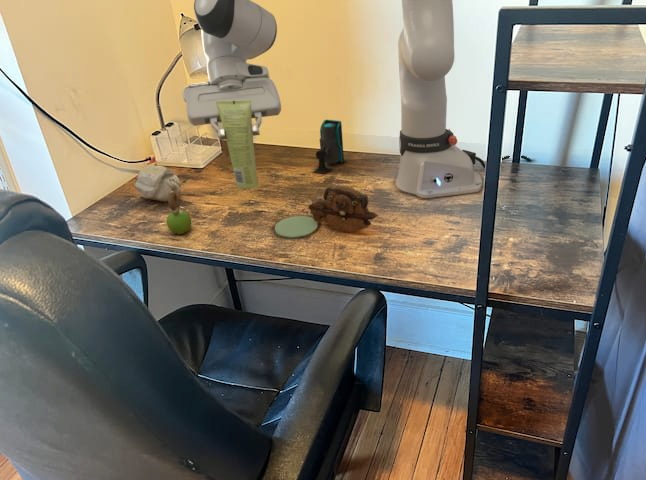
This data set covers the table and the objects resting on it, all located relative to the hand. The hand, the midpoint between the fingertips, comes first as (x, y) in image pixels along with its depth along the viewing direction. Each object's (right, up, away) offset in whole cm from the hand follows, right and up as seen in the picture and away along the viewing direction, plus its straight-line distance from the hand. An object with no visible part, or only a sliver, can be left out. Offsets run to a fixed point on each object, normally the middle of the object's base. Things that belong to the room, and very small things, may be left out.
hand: (239, 136), depth 116 cm
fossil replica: (-26, -10, +26) cm, 38 cm away
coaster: (+11, -19, +8) cm, 24 cm away
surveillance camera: (+17, +1, +38) cm, 42 cm away
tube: (+1, -10, +7) cm, 12 cm away
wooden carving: (+22, -20, +6) cm, 30 cm away
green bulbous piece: (-16, -20, +9) cm, 27 cm away
